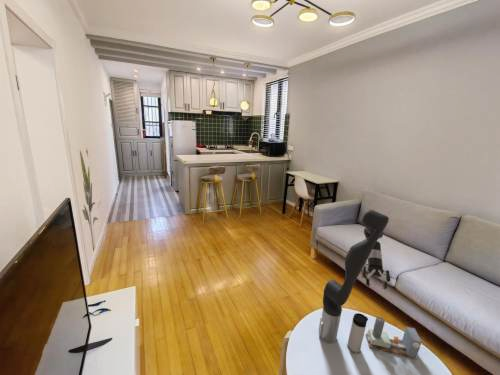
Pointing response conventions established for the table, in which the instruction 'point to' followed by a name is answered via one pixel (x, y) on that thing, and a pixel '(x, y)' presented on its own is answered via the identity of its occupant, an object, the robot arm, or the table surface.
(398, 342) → the button
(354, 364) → the table surface
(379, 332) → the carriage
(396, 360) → the table surface
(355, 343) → the travel mug
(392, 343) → the track
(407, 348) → the end cabinet
